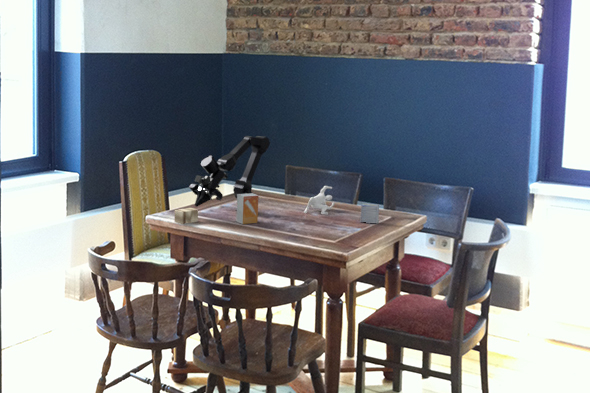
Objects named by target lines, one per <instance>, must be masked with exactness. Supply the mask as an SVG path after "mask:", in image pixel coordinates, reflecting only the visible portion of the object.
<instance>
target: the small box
mask: <svg viewBox="0 0 590 393" xmlns="http://www.w3.org/2000/svg"><path fill="white" fill-rule="evenodd" d="M236 210H237V211H236V215H235V216H236V220H235V221H236V222H237V223H239V224H241V225H246V224H257V223H258V222H259V221H258V220H259V219H258V218H259V195H258V194H256V193H253V192H252V193H248V194H237V198H236Z"/></svg>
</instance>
